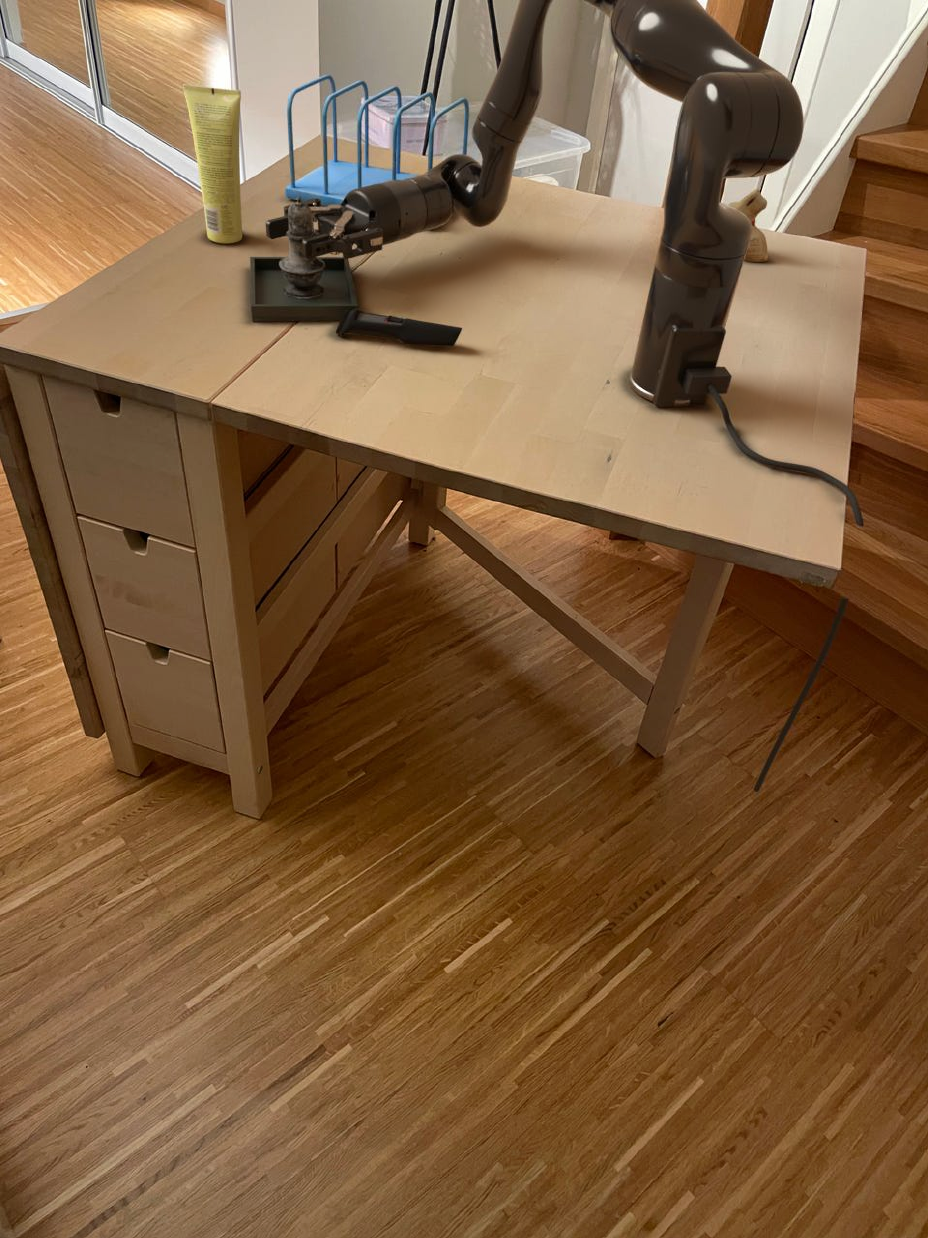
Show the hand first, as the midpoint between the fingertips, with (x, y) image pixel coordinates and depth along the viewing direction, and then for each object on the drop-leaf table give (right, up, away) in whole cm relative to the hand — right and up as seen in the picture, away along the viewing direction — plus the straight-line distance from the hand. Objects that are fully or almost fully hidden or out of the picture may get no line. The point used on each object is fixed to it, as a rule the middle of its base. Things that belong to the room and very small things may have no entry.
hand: (285, 239), depth 115 cm
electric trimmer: (+14, -13, -1) cm, 19 cm away
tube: (-12, +8, +18) cm, 23 cm away
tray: (+1, -5, +7) cm, 8 cm away
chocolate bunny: (+65, +9, +28) cm, 72 cm away
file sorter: (+9, +21, +35) cm, 41 cm away
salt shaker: (+1, -4, +6) cm, 8 cm away
